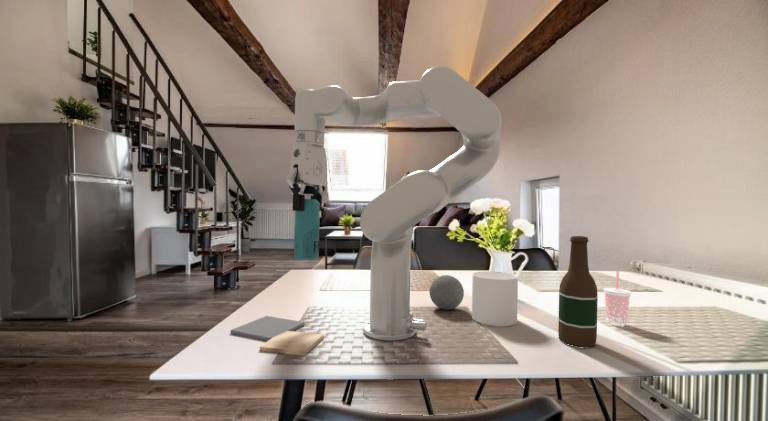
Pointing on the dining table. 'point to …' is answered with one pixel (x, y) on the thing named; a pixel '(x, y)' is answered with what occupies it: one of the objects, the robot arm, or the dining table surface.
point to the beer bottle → (578, 299)
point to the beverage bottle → (307, 229)
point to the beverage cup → (617, 303)
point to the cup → (494, 298)
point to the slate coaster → (267, 328)
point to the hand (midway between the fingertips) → (307, 210)
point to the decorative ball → (446, 292)
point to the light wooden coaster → (292, 343)
